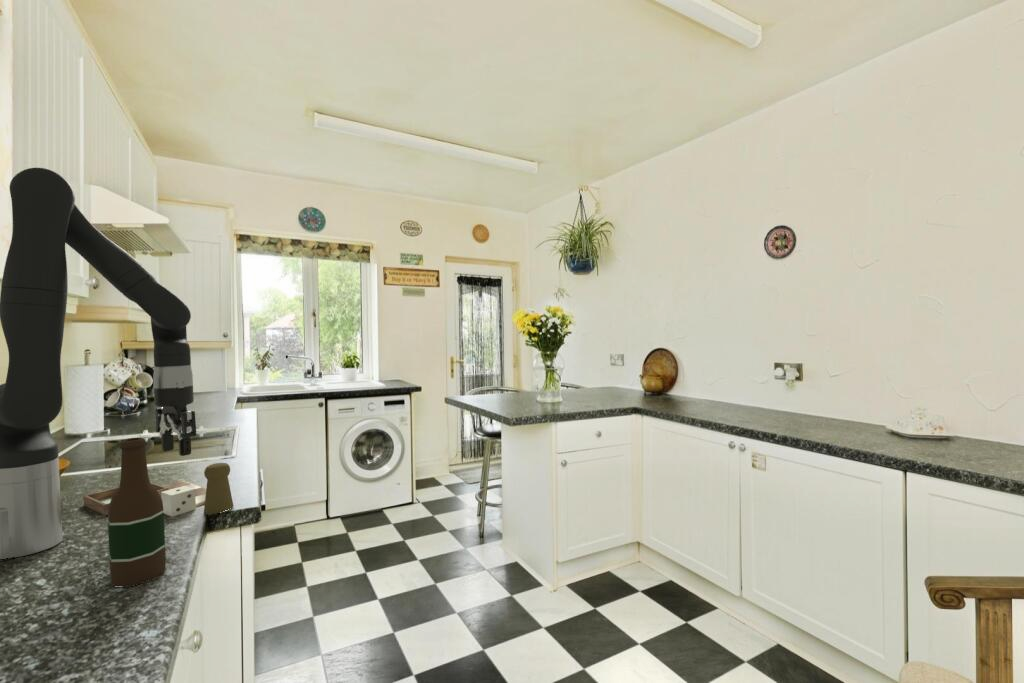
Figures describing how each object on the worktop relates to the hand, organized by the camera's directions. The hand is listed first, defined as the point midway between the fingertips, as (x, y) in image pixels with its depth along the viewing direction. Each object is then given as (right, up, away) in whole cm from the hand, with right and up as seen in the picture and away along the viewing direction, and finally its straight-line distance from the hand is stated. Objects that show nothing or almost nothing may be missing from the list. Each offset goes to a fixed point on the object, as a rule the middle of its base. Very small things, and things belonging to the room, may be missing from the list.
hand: (176, 452), depth 110 cm
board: (-5, -14, +12) cm, 19 cm away
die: (0, -14, 0) cm, 14 cm away
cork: (+10, -14, 0) cm, 17 cm away
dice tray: (-18, -14, +7) cm, 24 cm away
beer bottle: (+15, -15, -30) cm, 36 cm away
